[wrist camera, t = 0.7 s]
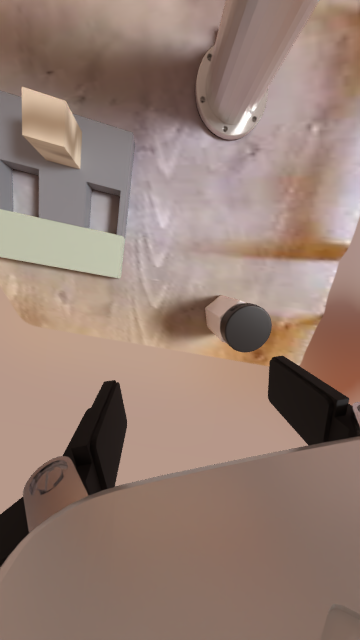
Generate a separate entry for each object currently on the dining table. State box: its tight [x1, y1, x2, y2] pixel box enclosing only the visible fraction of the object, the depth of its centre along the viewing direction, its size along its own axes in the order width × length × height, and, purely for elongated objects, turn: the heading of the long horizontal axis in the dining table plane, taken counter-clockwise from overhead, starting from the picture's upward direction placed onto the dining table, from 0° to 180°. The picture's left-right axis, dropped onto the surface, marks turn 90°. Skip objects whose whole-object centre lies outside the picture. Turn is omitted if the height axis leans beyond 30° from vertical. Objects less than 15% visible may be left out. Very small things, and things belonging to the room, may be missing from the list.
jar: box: [205, 295, 272, 352], centre depth 34 cm, size 9×8×12 cm
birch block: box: [22, 87, 82, 169], centre depth 25 cm, size 5×5×5 cm
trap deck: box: [0, 91, 135, 278], centre depth 30 cm, size 23×20×2 cm
